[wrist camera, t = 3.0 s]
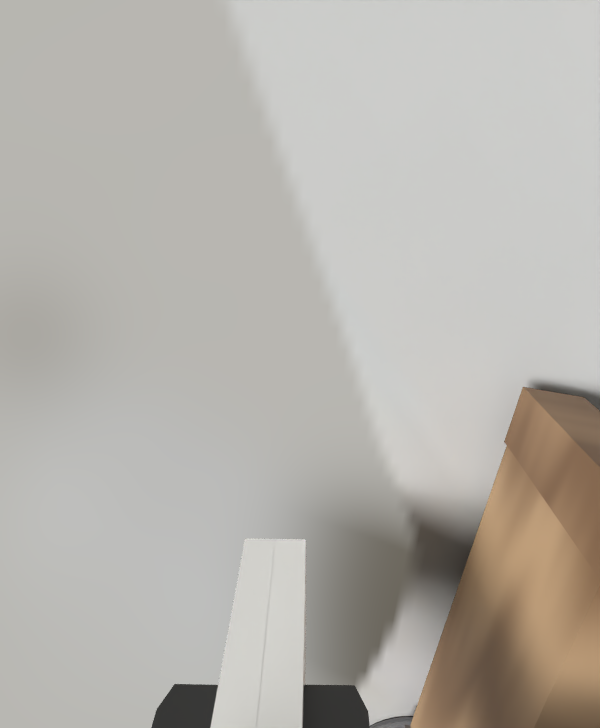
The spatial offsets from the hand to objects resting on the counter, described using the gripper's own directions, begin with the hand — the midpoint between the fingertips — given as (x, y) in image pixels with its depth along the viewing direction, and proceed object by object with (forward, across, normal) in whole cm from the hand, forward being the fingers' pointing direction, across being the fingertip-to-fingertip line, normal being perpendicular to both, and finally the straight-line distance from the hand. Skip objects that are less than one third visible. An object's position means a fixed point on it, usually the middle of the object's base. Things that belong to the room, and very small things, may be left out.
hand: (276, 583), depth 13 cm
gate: (+2, +6, -2) cm, 7 cm away
